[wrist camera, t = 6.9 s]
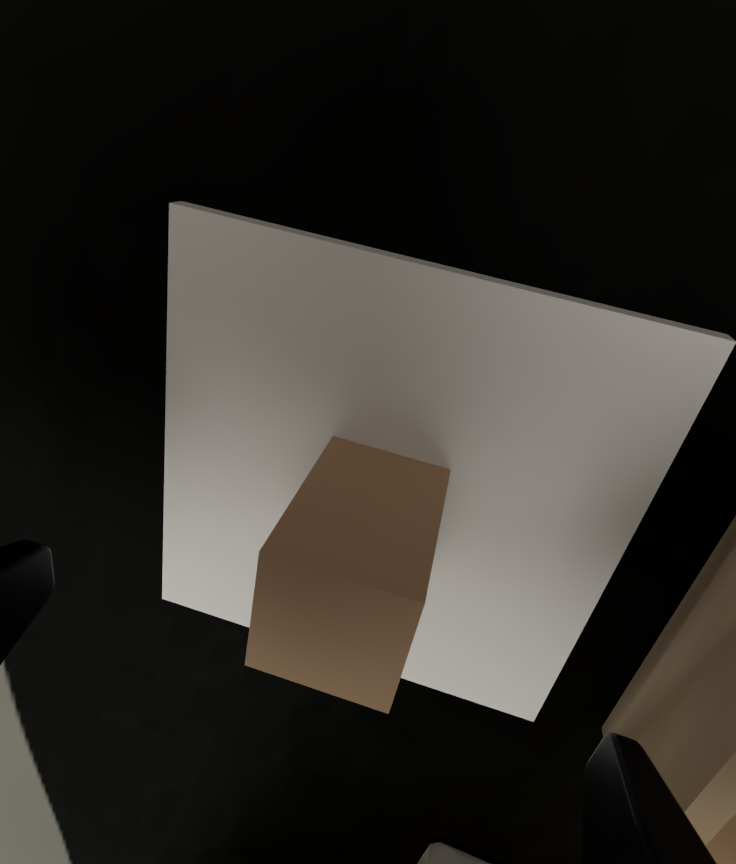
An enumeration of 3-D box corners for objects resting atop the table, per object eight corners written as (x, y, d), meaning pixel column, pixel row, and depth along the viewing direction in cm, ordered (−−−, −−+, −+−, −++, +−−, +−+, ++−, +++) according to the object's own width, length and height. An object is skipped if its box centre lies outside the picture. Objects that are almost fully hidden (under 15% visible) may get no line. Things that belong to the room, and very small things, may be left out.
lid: (717, 325, 10) (869, 452, 6) (532, 689, 15) (540, 904, 11) (195, 199, 11) (0, 226, 7) (181, 574, 16) (60, 727, 12)
